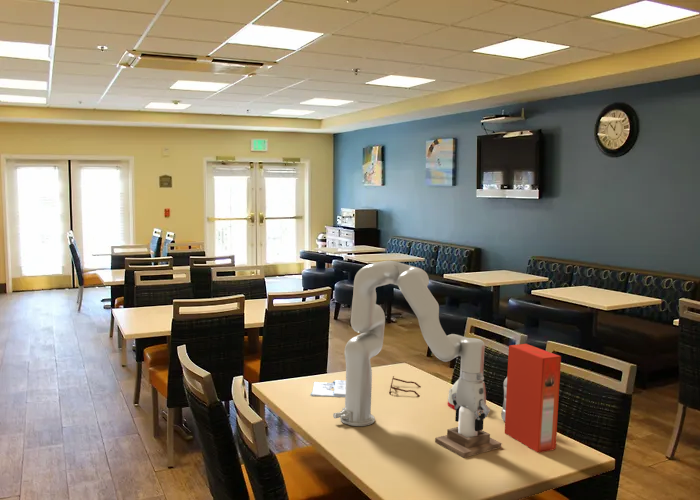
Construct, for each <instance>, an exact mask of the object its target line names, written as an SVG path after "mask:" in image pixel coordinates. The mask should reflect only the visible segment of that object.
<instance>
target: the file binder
mask: <svg viewBox="0 0 700 500" xmlns="http://www.w3.org/2000/svg"><path fill="white" fill-rule="evenodd" d="M507 356H508V357H507V375H506V377H507V393H506V413H505V421H504V434H505V435H507V436H509V437H510V438H512V439H514V440H515V441H517V442H519V443H521V444H522V445H524V446H526V447H527V448H529V449H531V450H532V451H534V452H535V453H543V452H549V451H554V450H557V432H558V418H559V417H558V415H559V412H558V411H559V399H560V398H559V397H560V381H561V380H560V379H561V364H562V363H561V362H562V356H561V355H559V354H555V353H553V352H550V351H548V350H544V349H542V348H540V347H536V346H534V345H530V344H528V343H520V344H512V345H508V355H507Z"/></svg>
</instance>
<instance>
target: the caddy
mask: <svg viewBox="0 0 700 500" xmlns="http://www.w3.org/2000/svg"><path fill="white" fill-rule="evenodd" d="M446 431H447V433H446V434H445V435H441V436H438V437H435V439H434V443H436V444H438V445H440V446H442V447H443V448H445V449H447V450H449V451H451V452H453V453H454V454H455V455H458V456H460V457H461V458H469V457H470V456H475V455H478V454H482V453H485V452H489V451H493V450H496V449H500V448H502V442H501V441H499V440H497V439H494V438H492V437H491V434H490V433H488V432H486V431H485V430H480V431H478V435H477V436H474V437H470V438H467V437H465V436H463V435H461V434H460V433H458V426H456V427H452V428H451V427H450V428H448V429H446Z"/></svg>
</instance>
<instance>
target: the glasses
mask: <svg viewBox="0 0 700 500" xmlns="http://www.w3.org/2000/svg"><path fill="white" fill-rule="evenodd" d="M394 380H395V381H398V382H402V383H406V384H415V385H416V386H417V387H418V388H421V387H422V386H421V385H420V384H418V383H417V382H415V381H412V380H411V381H407V380H403V379H399V378H396V377H395V375H393V376H392V379H391V383H390V388H389V394H391V391H392V389H393V390H397V391H401V392H405V393H410V392H412V393H414V394H415V395H416V396H417V397H420V396H421V395H419V393H418V392H417V391H416V390H411V389H410V390H409V389H408V390H407V389H402V388H399V387H395V386H393V383H394Z"/></svg>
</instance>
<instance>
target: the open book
mask: <svg viewBox="0 0 700 500" xmlns="http://www.w3.org/2000/svg"><path fill="white" fill-rule="evenodd" d="M332 389H334V390H332ZM345 394H346V380H345V379H344V380H343V379H341V380H340V379H335V380H334V381H333V382H323V381H322V382H320V381H314V382H313V388H312V392H311V393H310V397H329V398H330V397H331V398H345Z"/></svg>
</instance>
